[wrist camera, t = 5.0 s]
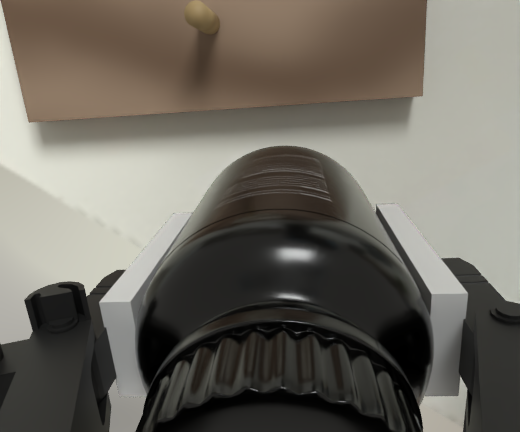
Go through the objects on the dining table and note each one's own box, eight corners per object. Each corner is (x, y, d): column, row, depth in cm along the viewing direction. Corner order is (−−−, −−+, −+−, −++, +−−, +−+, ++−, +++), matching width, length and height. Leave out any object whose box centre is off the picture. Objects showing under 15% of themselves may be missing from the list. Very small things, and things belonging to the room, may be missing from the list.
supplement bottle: (178, 257, 18) (-9, 563, 7) (245, 111, 16) (134, 212, 5) (319, 324, 19) (358, 707, 8) (403, 192, 17) (638, 452, 5)
